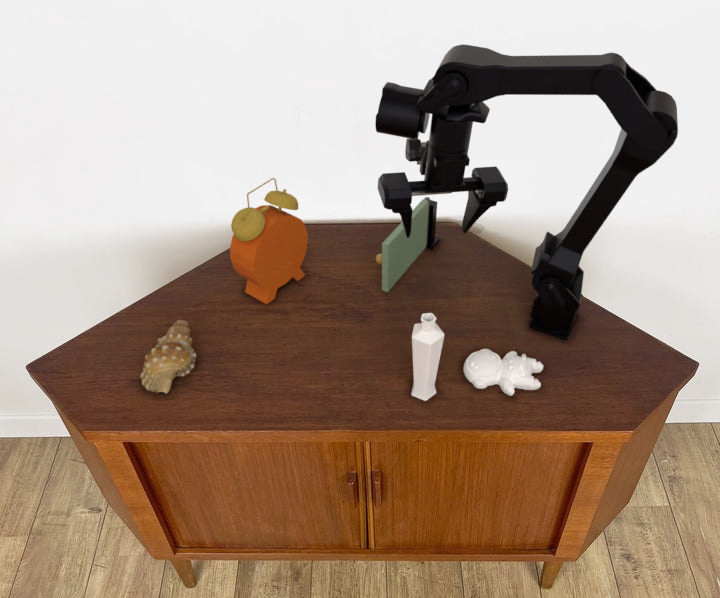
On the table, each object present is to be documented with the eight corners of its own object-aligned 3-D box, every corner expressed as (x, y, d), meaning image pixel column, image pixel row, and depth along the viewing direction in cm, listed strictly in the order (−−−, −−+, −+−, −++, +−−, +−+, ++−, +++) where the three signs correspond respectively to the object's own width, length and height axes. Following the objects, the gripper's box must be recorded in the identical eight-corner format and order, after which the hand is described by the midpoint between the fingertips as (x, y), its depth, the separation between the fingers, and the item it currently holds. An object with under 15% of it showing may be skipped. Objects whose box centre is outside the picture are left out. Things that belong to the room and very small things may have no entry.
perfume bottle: (437, 404, 99) (443, 331, 88) (407, 400, 100) (411, 327, 89) (440, 381, 102) (447, 308, 92) (412, 378, 103) (416, 305, 92)
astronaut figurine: (536, 403, 99) (539, 390, 97) (457, 384, 102) (459, 370, 100) (545, 363, 105) (549, 349, 102) (470, 346, 108) (472, 332, 105)
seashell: (149, 373, 109) (152, 314, 106) (199, 378, 110) (203, 320, 107) (134, 393, 101) (136, 330, 98) (189, 399, 101) (192, 336, 98)
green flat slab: (413, 239, 126) (415, 193, 119) (428, 244, 125) (431, 198, 118) (372, 287, 117) (371, 240, 110) (387, 292, 116) (388, 245, 109)
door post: (425, 237, 129) (427, 196, 122) (439, 241, 127) (442, 200, 121) (418, 245, 127) (420, 204, 120) (432, 249, 126) (435, 209, 119)
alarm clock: (287, 258, 125) (275, 162, 110) (312, 271, 122) (302, 173, 108) (236, 295, 118) (216, 197, 103) (261, 309, 115) (243, 210, 101)
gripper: (494, 113, 101) (477, 201, 112) (373, 119, 98) (368, 208, 110) (518, 150, 93) (497, 241, 105) (388, 158, 91) (381, 250, 102)
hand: (435, 233), depth 105 cm, fingers open, 9 cm apart
